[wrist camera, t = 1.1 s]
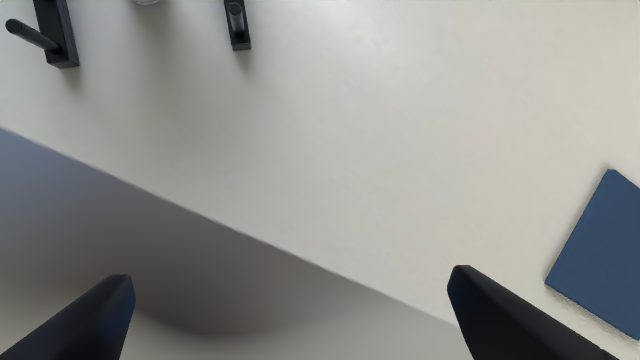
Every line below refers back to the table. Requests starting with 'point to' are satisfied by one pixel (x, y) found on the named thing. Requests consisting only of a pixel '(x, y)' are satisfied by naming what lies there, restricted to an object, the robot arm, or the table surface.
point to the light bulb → (145, 2)
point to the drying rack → (61, 40)
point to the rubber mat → (605, 256)
